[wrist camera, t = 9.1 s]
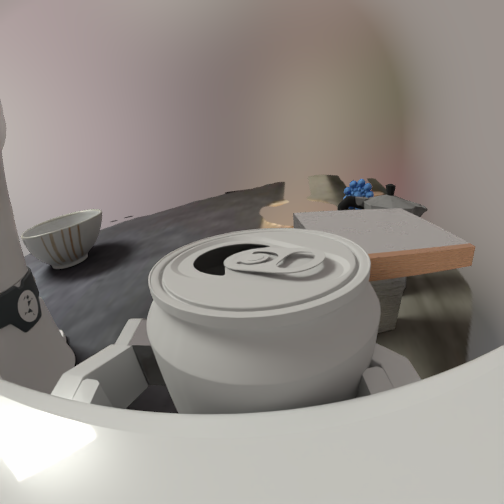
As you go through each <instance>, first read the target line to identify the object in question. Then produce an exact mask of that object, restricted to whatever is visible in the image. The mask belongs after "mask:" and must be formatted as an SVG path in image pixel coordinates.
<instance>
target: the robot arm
mask: <svg viewBox="0 0 504 504" xmlns="http://www.w3.org/2000/svg"><path fill="white" fill-rule="evenodd" d="M5 138H6V123H5V119H4V115H3V110H2V105H1V101H0V504H504V345H503V346H500V347H499V348H497V349H495V350H493V351H491V352H489V353H486V354H485V355H482V356H480V357H478V358H476V359H474V360H471V361H469V362H467V363H465V364H462V365H460V366H457V367H455V368H453V369H450V370H447V371H445V372H442V373H440V374H437V375H434V376H431V377H429V378H426V379H423V380H421V378H420V377H419V375H418V374H417V372H416V371H415V369H414V368H413V366H412V365H411V363H410V362H409V360H408V359H407V358H406V357H404V356H402V355H400V354H398V353H396V352H394V351H392V350H389V349H387V348H385V347H383V346H381V345H379V344H377V343H375V348H374V353H373V357H372V359H371V364H370V368H367V369H366V370H365V371H364V373H363V374H362V377H361V381H360V385H359V389H358V393H357V397H356V398H354V399H350V400H345V401H340V402H335V403H329V404H324V405H318V406H311V407H304V408H297V409H289V410H280V411H270V412H257V413H240V414H178V413H160V412H148V411H138V410H129V409H126V408H127V407H128V406H129V405H130V404H131V403H132V402H133V401H134V400H135V399H136V398H137V397H138V396H139V395H140V394H141V393H142V392H143V391H144V390H145V389H146V388H147V387H148V385H166V383H165V381H164V378H163V376H162V373H161V371H160V368H159V366H158V363H157V360H156V358H155V355H154V352H153V349H152V347H151V344H150V341H149V338H148V334H147V319H129V320H128V322H127V324H126V325H125V327H124V329H123V331H122V332H121V334H120V336H119V338H118V340H117V341H116V343H115V345H110V346H108V347H106V348H105V349H103V350H101V351H100V352H98V353H96V354H95V355H93V356H92V357H90V358H88V359H87V360H85V361H83V362H82V363H80V364H78V365H77V366H75V355H74V352H73V351H72V349H71V348H70V347H69V345H68V344H67V343H66V336H65V334H64V333H63V331H62V330H59V329H58V328H57V326H56V324H55V322H54V320H53V318H52V317H51V315H50V313H49V311H48V309H47V307H46V305H45V303H44V301H43V300H42V298H41V297H39V291H38V288H37V286H36V283H35V278H34V276H33V275H32V272H31V269H30V268H29V267H27V266H26V262H25V259H24V256H23V252H22V249H21V245H20V241H19V237H18V233H17V229H16V225H15V220H14V215H13V211H12V206H11V202H10V198H9V194H8V190H7V185H6V180H5V173H4V167H3V159H2V149H3V146H4V143H5ZM74 366H75V367H74Z"/></svg>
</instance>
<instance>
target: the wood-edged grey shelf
mask: <svg viewBox="0 0 504 504" xmlns="http://www.w3.org/2000/svg"><path fill="white" fill-rule="evenodd" d="M293 217H294V228H296V229H308V230H316V231H322V232H327V233H331V234H335V235H339V236H342V237H344V238H347V239H349V240H351V241H353V242H355V243H357V244H358V245H360V246H361V247H362V248H363V249H364V250H365V251H366V252H367V254H368V255H369V257H370V261H371V268H370V277H369V282H370V284H371V285H372V287H373V289H374V291H375V293H376V295H377V297H378V299H379V303H380V309H381V314H380V321H379V327H378V333H381V332H386V331H391V330H395V326H396V321H397V317H398V313H399V308H400V304H401V299H402V294H403V289H404V283H405V278H406V276H413V275H420V274H426V273H432V272H438V271H444V270H450V269H456V268H461V267H467V266H471V265H472V260H473V256H474V251H475V246H474V245H472V244H470V243H468V242H466V241H465V240H463V239H461V238H459V237H457V236H455V235H454V234H452V233H450V232H448V231H446V230H444V229H442V228H440V227H438V226H436V225H434V224H432V223H430V222H428V221H426V220H424V219H422V218H420V217H418V216H416V215H414V214H412V213H410V212H408V211H406V210H403V209H401V208H394V209H363V210H340V211H320V212H304V213H293Z"/></svg>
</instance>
